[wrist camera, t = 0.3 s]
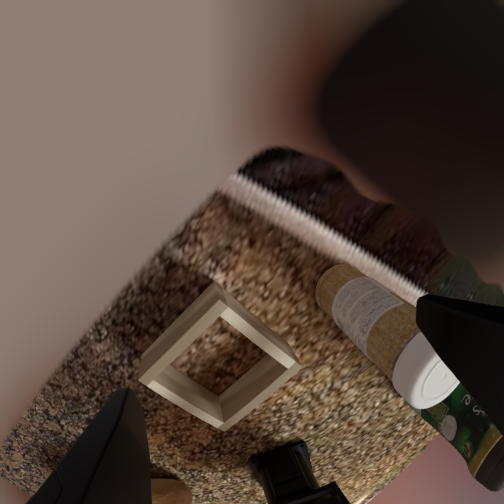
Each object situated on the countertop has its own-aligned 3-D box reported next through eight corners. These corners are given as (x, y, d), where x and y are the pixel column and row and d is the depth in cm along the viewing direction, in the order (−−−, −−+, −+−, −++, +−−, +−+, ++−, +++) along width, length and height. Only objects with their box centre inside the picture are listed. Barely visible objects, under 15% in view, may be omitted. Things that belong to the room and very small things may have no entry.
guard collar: (288, 344, 26) (302, 366, 23) (219, 405, 27) (224, 431, 23) (213, 280, 24) (219, 299, 20) (141, 354, 24) (137, 380, 21)
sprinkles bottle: (366, 296, 27) (472, 379, 14) (322, 322, 27) (413, 425, 14) (353, 252, 25) (474, 321, 13) (304, 277, 25) (406, 374, 12)
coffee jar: (462, 326, 31) (574, 403, 14) (453, 375, 34) (543, 454, 16) (401, 357, 30) (518, 467, 12) (395, 407, 32) (484, 510, 15)
